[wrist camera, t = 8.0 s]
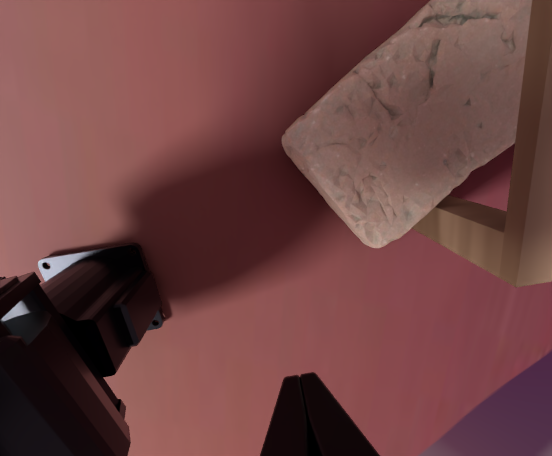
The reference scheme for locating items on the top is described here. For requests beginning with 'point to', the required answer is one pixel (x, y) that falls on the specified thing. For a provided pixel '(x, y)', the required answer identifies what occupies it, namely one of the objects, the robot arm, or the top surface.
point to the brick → (416, 115)
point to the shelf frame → (513, 183)
